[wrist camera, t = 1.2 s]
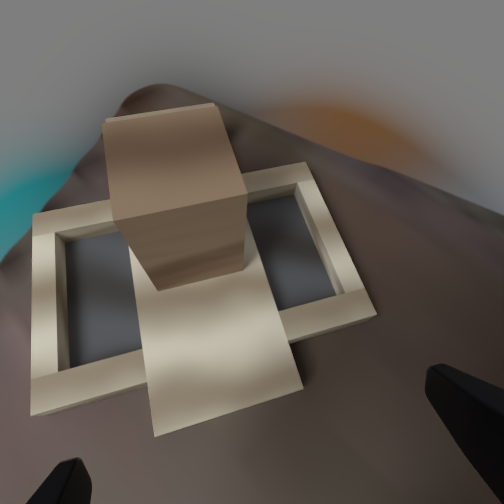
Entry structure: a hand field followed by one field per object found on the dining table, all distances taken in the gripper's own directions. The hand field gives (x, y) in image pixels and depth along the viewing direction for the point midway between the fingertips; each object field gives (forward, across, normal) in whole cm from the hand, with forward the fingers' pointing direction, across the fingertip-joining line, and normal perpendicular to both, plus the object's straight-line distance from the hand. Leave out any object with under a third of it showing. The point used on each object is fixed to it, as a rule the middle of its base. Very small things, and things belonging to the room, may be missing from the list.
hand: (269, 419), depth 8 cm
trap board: (+18, +2, +2) cm, 18 cm away
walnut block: (+17, +2, +1) cm, 17 cm away
